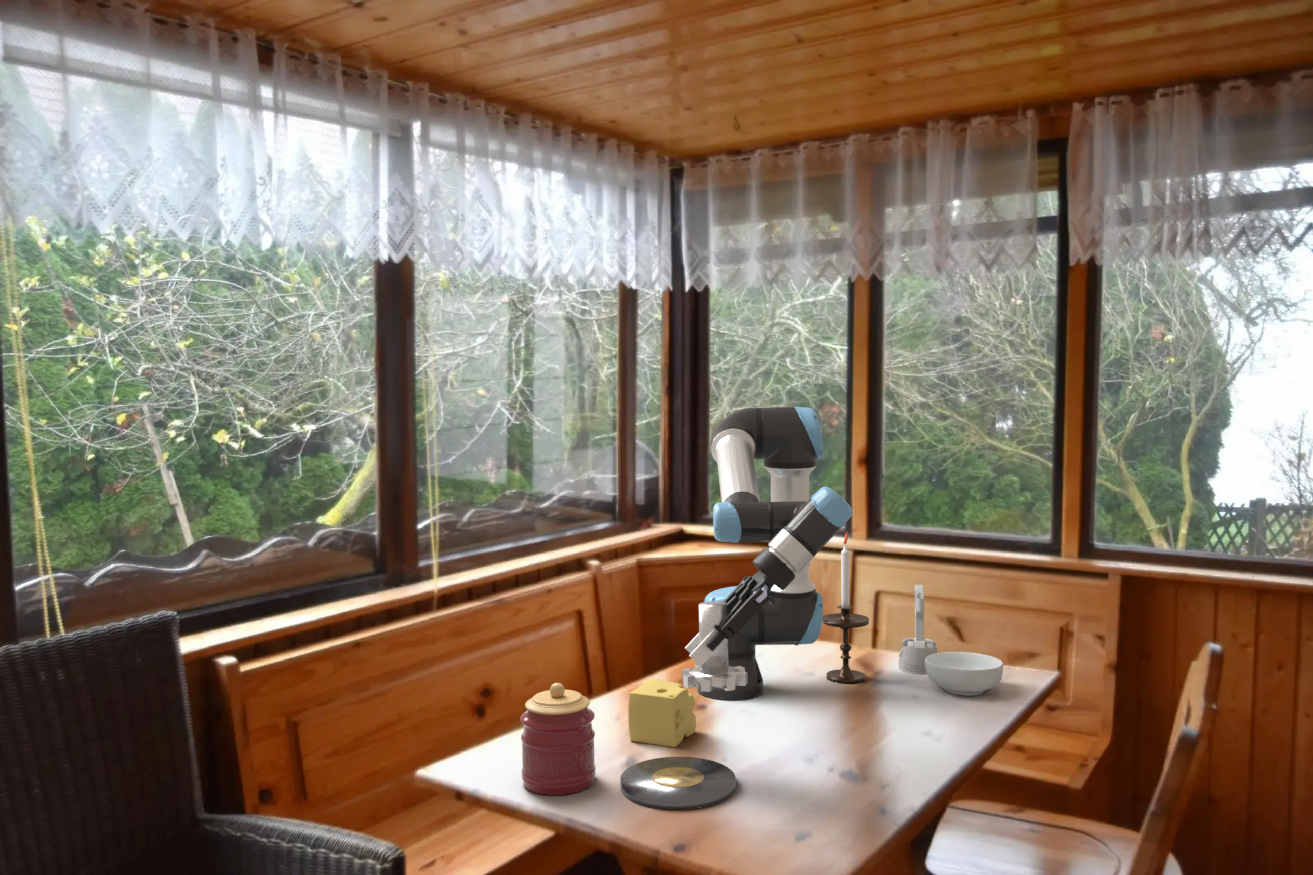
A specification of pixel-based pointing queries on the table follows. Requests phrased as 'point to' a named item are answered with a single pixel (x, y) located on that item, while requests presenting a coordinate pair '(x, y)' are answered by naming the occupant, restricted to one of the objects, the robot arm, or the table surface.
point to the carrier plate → (678, 783)
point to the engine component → (916, 640)
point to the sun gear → (714, 656)
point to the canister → (558, 742)
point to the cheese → (661, 713)
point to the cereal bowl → (964, 671)
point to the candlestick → (845, 626)
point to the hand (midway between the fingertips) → (692, 656)
